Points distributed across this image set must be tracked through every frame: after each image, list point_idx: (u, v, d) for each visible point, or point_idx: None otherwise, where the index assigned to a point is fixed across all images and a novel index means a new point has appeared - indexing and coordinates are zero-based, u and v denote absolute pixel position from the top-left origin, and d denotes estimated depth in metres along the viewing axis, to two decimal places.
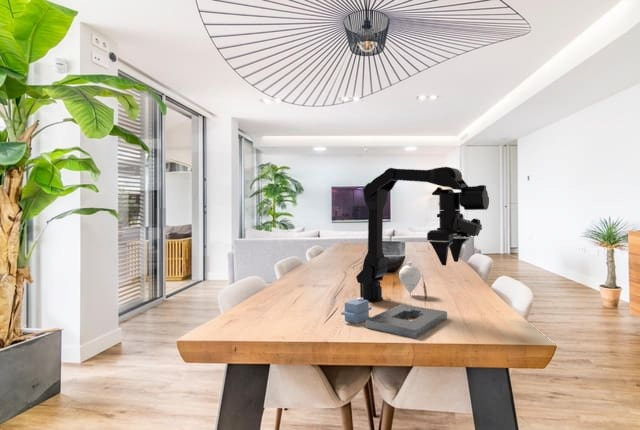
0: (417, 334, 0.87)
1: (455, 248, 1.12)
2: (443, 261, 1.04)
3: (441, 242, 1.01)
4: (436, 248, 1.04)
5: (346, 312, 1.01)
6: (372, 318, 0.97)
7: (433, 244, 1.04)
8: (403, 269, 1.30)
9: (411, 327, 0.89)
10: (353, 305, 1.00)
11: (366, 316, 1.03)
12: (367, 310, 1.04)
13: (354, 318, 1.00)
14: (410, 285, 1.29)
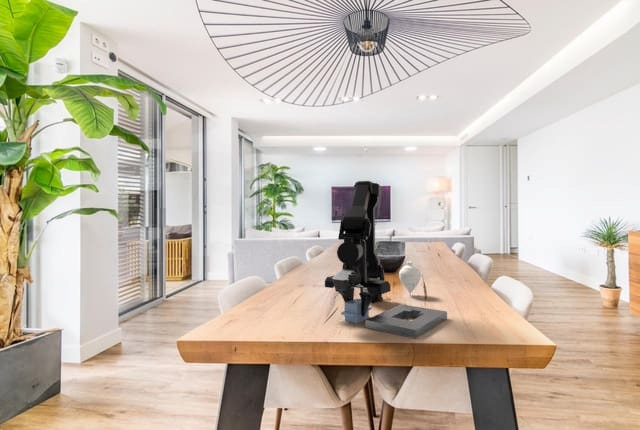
0: (417, 334, 0.87)
1: None
2: None
3: None
4: None
5: (346, 312, 1.01)
6: (372, 318, 0.97)
7: None
8: (403, 269, 1.30)
9: (411, 327, 0.89)
10: (353, 305, 1.00)
11: (366, 316, 1.03)
12: (367, 310, 1.04)
13: (354, 318, 1.00)
14: (410, 285, 1.29)
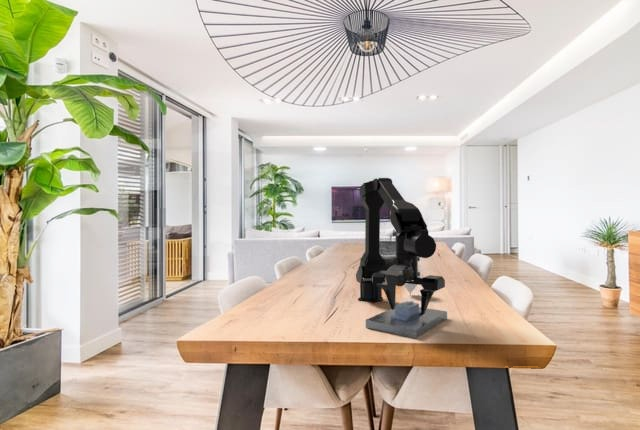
0: (417, 334, 0.87)
1: None
2: None
3: None
4: None
5: (397, 316, 0.96)
6: (372, 318, 0.97)
7: None
8: None
9: (411, 327, 0.89)
10: (405, 308, 0.96)
11: None
12: (418, 313, 0.99)
13: None
14: (410, 285, 1.29)
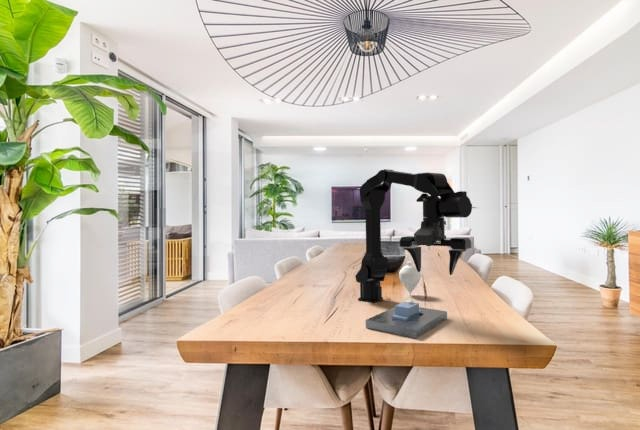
0: (417, 334, 0.87)
1: None
2: None
3: None
4: None
5: (397, 316, 0.96)
6: (372, 318, 0.97)
7: None
8: (403, 269, 1.30)
9: (411, 327, 0.89)
10: (405, 308, 0.96)
11: None
12: (418, 313, 0.99)
13: None
14: (410, 285, 1.29)
